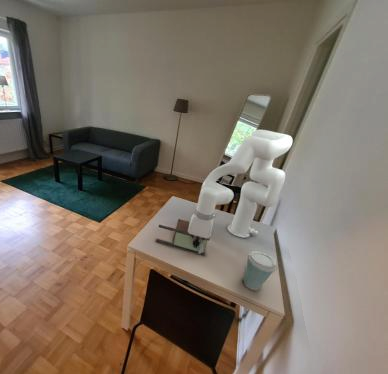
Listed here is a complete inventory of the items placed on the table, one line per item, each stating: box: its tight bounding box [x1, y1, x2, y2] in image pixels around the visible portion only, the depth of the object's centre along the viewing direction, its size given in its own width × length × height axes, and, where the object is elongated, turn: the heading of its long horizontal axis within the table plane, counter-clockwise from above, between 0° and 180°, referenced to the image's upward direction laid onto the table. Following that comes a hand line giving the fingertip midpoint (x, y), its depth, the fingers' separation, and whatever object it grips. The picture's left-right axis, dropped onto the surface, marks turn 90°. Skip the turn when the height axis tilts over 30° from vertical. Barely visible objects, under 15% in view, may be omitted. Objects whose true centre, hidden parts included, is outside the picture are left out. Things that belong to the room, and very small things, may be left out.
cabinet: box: [155, 218, 210, 256], centre depth 112 cm, size 25×12×10 cm, turn 71°
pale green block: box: [174, 232, 208, 255], centre depth 105 cm, size 15×4×8 cm, turn 71°
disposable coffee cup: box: [242, 250, 278, 291], centre depth 89 cm, size 11×11×15 cm
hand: (195, 246), depth 103 cm, fingers closed
